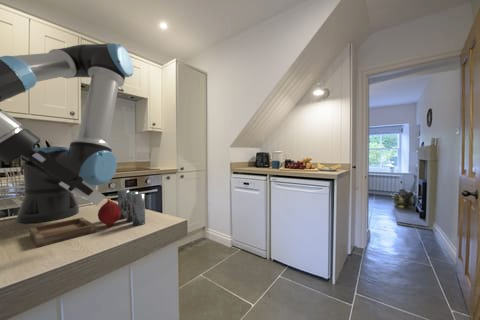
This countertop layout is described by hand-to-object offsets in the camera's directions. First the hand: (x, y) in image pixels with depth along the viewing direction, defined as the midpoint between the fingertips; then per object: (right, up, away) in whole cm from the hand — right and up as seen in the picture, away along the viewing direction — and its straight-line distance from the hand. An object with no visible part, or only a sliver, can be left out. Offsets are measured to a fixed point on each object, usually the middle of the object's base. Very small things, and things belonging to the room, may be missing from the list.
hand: (91, 197), depth 54 cm
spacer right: (+10, -9, +6) cm, 15 cm away
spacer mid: (+6, -9, +10) cm, 15 cm away
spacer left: (+2, -9, +12) cm, 15 cm away
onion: (+2, -9, +5) cm, 11 cm away
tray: (-6, -9, -2) cm, 11 cm away
